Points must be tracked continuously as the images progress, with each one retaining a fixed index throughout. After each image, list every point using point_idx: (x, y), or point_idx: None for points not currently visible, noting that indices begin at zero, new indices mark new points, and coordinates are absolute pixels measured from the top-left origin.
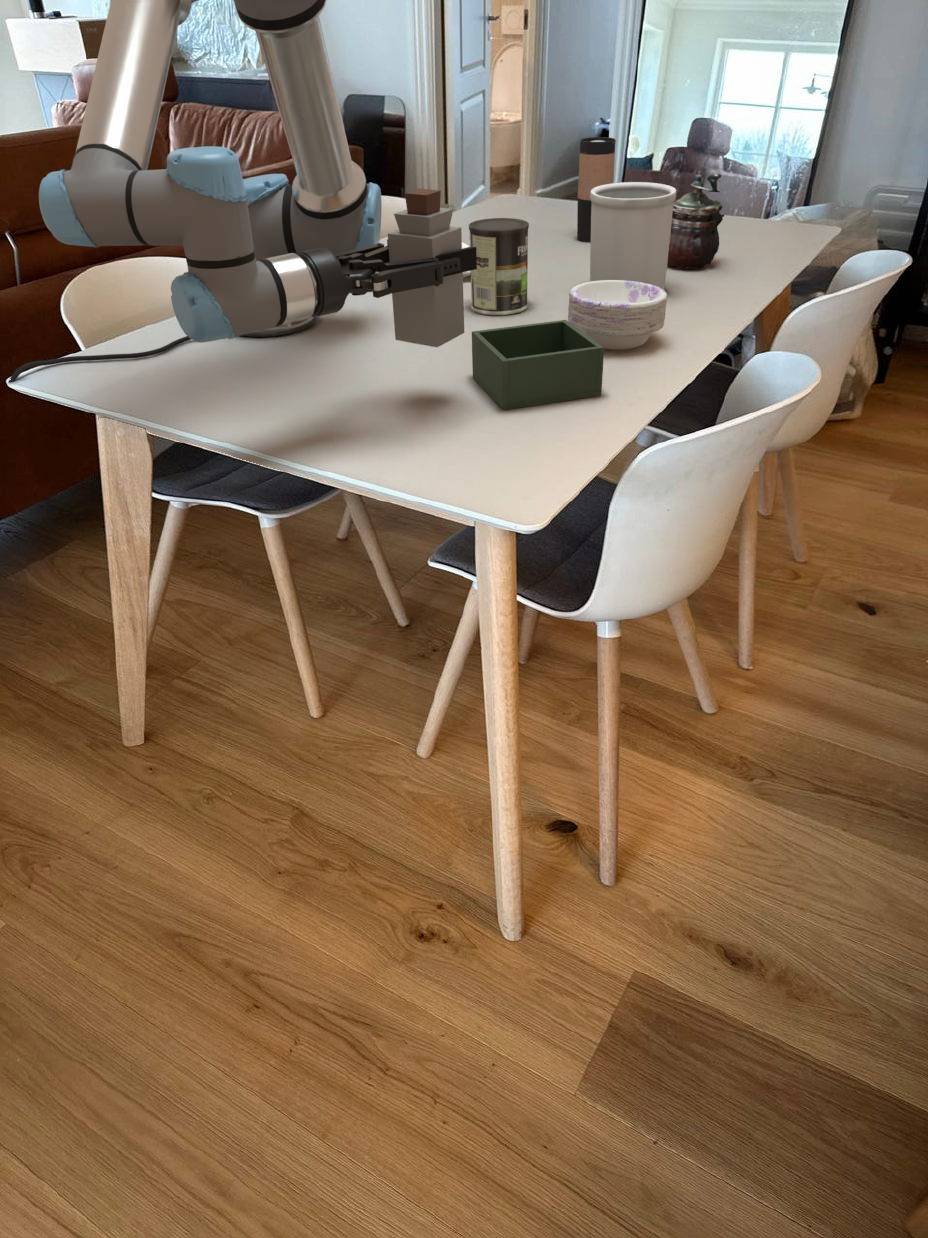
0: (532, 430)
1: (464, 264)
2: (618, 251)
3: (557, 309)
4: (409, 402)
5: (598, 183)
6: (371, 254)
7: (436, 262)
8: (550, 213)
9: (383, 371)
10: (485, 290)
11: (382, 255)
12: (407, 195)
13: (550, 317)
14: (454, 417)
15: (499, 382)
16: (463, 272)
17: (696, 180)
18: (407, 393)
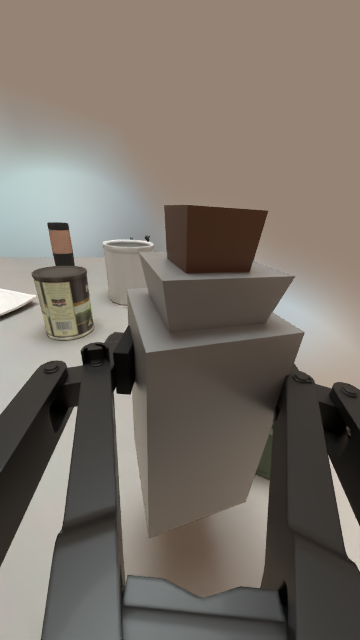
0: (347, 501)
1: None
2: (135, 277)
3: (113, 319)
4: (165, 575)
5: (66, 245)
6: (105, 457)
7: (356, 395)
8: (23, 263)
9: (39, 501)
10: (66, 323)
11: (113, 415)
12: (198, 214)
13: (119, 327)
14: (264, 559)
15: (263, 455)
16: (13, 308)
17: (131, 239)
18: (133, 543)
